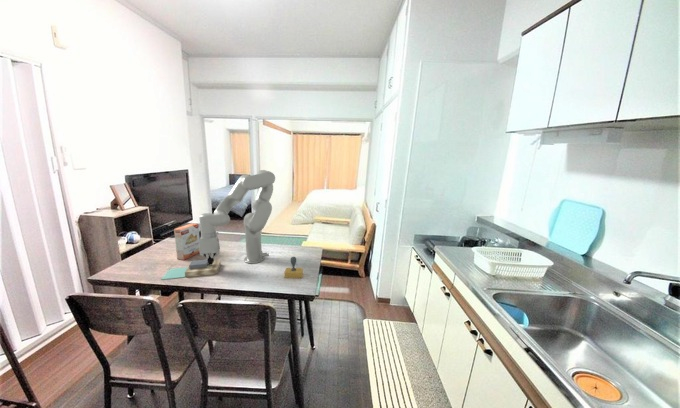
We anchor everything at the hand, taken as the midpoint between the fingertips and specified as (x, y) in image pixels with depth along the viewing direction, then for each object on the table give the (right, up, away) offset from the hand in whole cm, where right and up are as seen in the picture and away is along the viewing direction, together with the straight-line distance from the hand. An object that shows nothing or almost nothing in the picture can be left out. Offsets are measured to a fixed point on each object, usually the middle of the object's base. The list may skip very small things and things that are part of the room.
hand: (211, 263), depth 141 cm
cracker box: (-24, +1, +19) cm, 31 cm away
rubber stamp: (+50, -7, -3) cm, 51 cm away
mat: (-17, -5, -4) cm, 18 cm away
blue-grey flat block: (-6, 0, -2) cm, 6 cm away
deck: (-4, -4, 0) cm, 6 cm away
